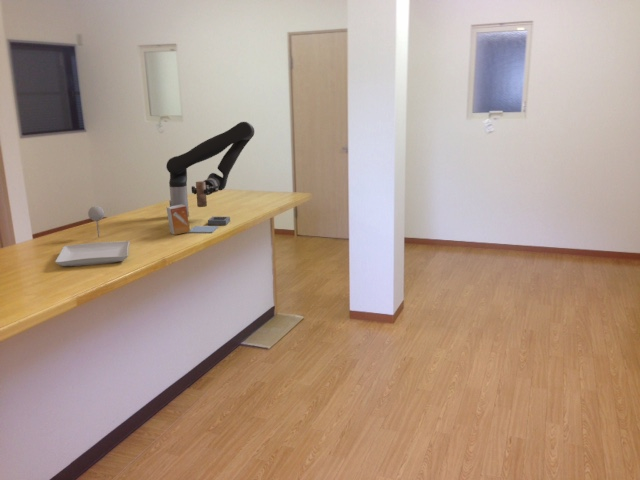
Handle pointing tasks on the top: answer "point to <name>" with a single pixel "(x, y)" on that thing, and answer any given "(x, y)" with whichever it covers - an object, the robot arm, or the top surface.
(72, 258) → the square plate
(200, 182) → the plug
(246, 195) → the top surface
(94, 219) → the lollipop
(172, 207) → the small box
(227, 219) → the socket
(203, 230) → the mat
